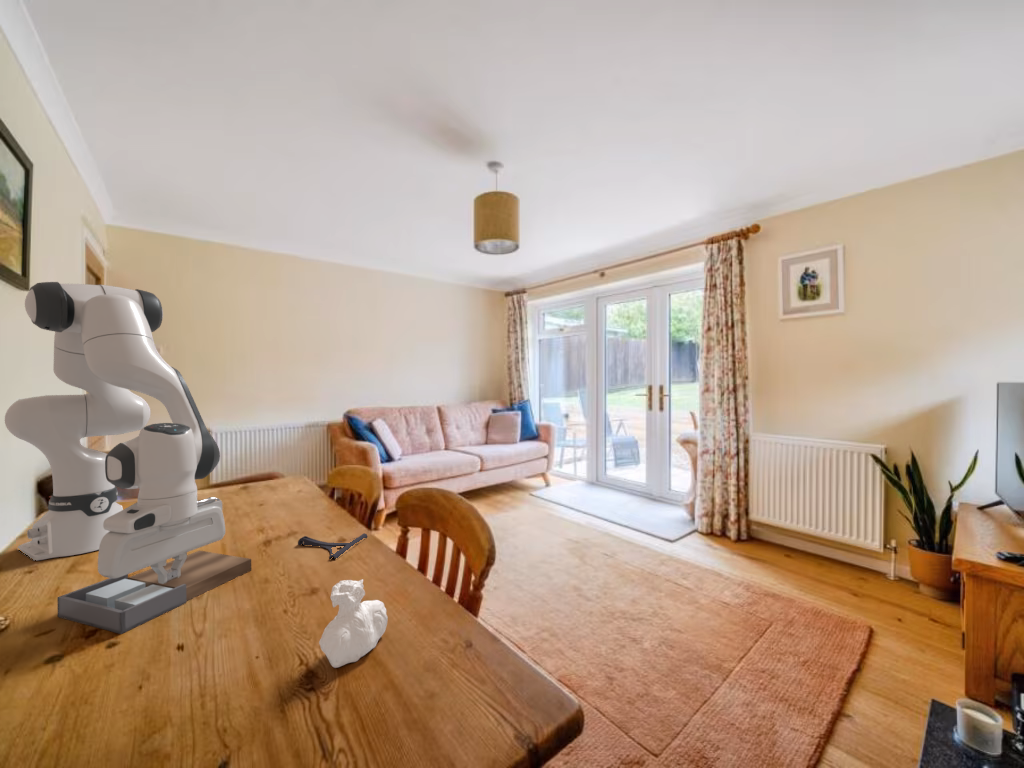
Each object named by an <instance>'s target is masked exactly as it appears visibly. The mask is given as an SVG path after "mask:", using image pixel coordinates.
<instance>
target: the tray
mask: <svg viewBox="0 0 1024 768" xmlns="http://www.w3.org/2000/svg"><path fill="white" fill-rule="evenodd" d="M128 577H129V574H127V575H124V576H122V577H119V578H115V579H113V578H106V579H104V580H100V581H98V582H95V583H93V584H90V585H88V586H85V587H82V588H78V589H76V590H73V591H70V592H68V593H65V594H62V595H60V596H57V598H56V599H57V618H59V619H64V620H68V621H71V622H74V623H75V622H76V623H79V624H82V625H86V626H90V627H94V628H97V629H100V630H101V629H102V630H105V631H109V632H112V633H115V634H120V635H122V634H125V633H127V632H128V631H131V630H133V629H135V628H137V627H139V626H141V625H143V624H145V623H148V622H149V621H152V620H153V619H155V618H158V617H160V616H162V615H164V614H166V613H168V612H170V611H172V610H175V609H177V608H179V607H181V606H182V605H185V604H187V601H186V584H182V585H180V586H178V587H176V588H173V589H171V590H169V591H166V592H164V593H162V594H160V595H157V596H155V597H153V598H150V599H148V600H146V601H143V602H141V603H139V604H137V605H134V606H132V607H130V608H127V609H125V610H119V609H115V608H111V607H107V606H102V605H98V604H94V603H90V602H86V593H88V592H91V591H94V590H96V589H99V588H102V587H104V586H107V585H109V584H112V583H115V582H117V581H120V580H123V579H128Z"/></svg>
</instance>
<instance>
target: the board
mask: <svg viewBox="0 0 1024 768" xmlns="http://www.w3.org/2000/svg"><path fill="white" fill-rule="evenodd" d="M174 560H175V559H173V560H171V561H168V562H166V566H163V568H164V569H165V570H169V569H171V566H172V564H173V562H174ZM251 571H252V558H247V557H241V556H234V555H228V554H222V553H217V552H211V551H203V550H197V551H194V552H191V553H190V554H187V558H186V560H185V562H184V564H183V566H182V568H181V576H180V577H179V578H176V579H174V580H171V581H169V582H167V583H164V584H161V583H159V582H158V574H157V573H156V572H155V571H154V570H153V569H152V568H150V569H146V570H144V571H141V572H139V573H136V574H134V575H131V576H128V579H129V580H134V581H139V582H143V583H145V588H146V587H148V586H150V585H158V586H163V587H168V588H176V587H178V586H180V585H182V584H186V602H188V601H190V600H192V599H194V598H197V597H199V596H200V595H203V594H204V593H207V592H209V591H211V590H213V589H215V588H217V587H219V586H221V585H224V584H225V583H227V582H230V581H231V580H234V579H236V578H238V577H241V576H242V575H244V574H246V573H249V572H251Z"/></svg>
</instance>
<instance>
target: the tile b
mask: <svg viewBox="0 0 1024 768" xmlns="http://www.w3.org/2000/svg"><path fill="white" fill-rule="evenodd" d="M171 589H173V588H168V587H163V586H158V585H150V586H148V587H146V588H143V589H141V590H138V591H136V592H133V593H131V594H129V595H126V596H124V597H121V598H119V599H116V600H115V609H119V610H125V609H127V608H130V607H132V606H134V605H137V604H139V603H141V602H143V601H146V600H148V599H150V598H153V597H155V596H157V595H160V594H162V593H164V592H166V591H169V590H171Z"/></svg>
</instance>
